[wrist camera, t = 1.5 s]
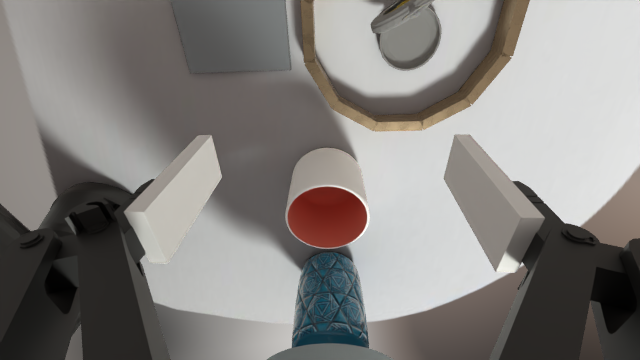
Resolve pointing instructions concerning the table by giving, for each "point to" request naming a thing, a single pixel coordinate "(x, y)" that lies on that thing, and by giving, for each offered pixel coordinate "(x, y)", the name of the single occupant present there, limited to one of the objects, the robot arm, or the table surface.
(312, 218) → the cup
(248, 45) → the coaster
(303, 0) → the c ring
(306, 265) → the lamp
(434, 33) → the pocket watch
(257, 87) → the table surface
